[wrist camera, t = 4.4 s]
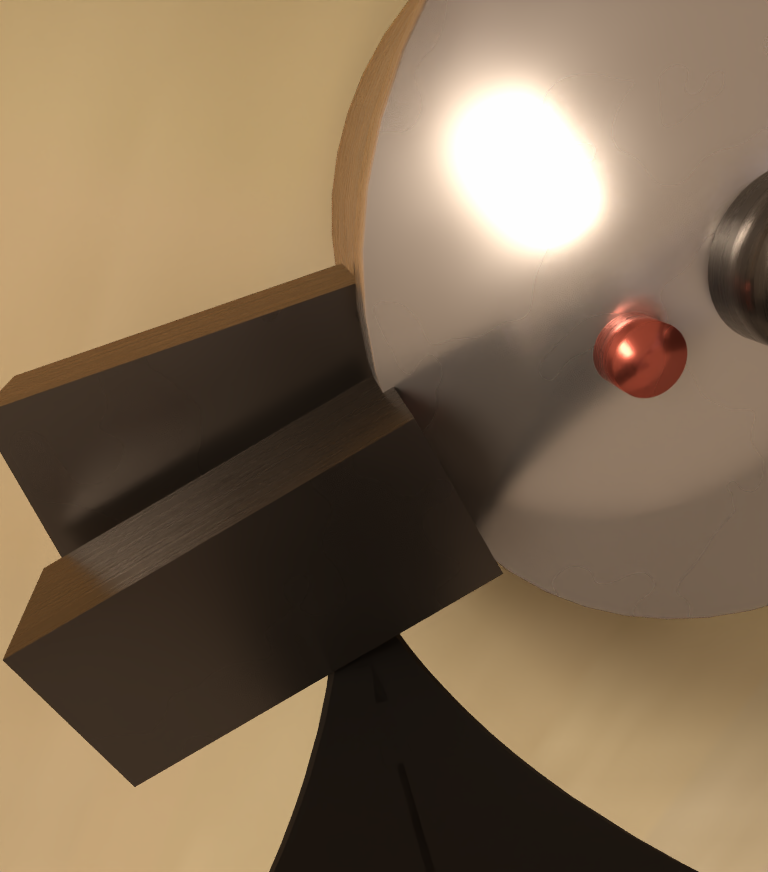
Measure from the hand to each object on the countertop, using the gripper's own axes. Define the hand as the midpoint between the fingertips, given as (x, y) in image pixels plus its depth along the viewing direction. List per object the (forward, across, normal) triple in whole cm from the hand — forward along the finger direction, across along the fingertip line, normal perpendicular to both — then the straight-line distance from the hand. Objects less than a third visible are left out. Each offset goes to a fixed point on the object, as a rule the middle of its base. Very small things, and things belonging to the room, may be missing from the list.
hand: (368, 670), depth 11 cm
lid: (+1, -4, -4) cm, 6 cm away
